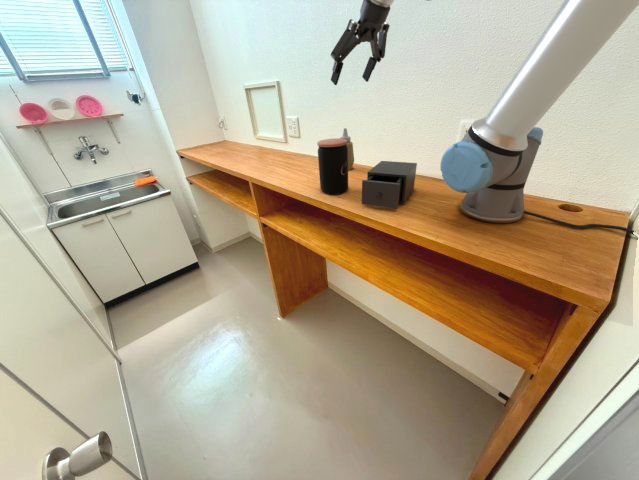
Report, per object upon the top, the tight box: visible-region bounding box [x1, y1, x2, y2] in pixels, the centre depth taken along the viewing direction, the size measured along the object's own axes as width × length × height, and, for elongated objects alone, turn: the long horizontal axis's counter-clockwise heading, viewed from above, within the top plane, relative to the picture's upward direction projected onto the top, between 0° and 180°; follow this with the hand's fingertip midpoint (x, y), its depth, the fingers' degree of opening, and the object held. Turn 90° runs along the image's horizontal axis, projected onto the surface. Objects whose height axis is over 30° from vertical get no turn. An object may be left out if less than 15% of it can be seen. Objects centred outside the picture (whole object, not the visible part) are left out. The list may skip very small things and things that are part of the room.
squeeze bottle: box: [340, 127, 355, 171], centre depth 116 cm, size 8×8×18 cm
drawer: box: [361, 175, 404, 210], centre depth 82 cm, size 15×11×8 cm
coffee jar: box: [316, 137, 349, 196], centre depth 92 cm, size 11×11×18 cm
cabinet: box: [366, 160, 418, 205], centre depth 87 cm, size 15×13×10 cm
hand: (349, 80), depth 84 cm, fingers open, 13 cm apart
